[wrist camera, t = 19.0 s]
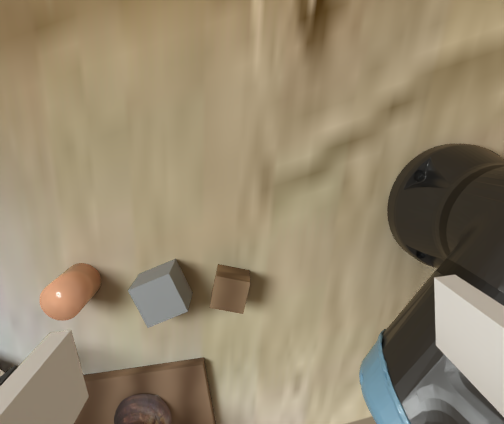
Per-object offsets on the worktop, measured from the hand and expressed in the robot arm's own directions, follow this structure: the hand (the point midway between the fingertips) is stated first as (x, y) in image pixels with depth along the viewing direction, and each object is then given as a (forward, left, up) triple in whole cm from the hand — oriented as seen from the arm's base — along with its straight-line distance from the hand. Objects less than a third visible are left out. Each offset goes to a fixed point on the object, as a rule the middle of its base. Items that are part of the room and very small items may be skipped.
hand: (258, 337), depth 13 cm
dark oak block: (+3, +11, -32) cm, 34 cm away
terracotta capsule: (+21, +8, -32) cm, 39 cm away
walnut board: (+17, +29, -32) cm, 46 cm away
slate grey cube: (+11, +10, -32) cm, 35 cm away
